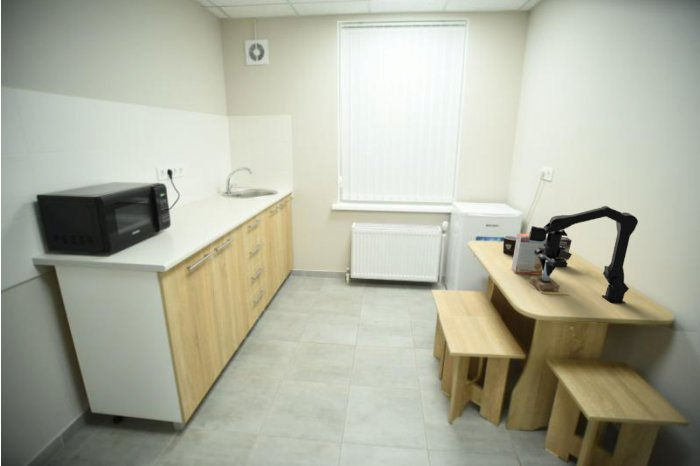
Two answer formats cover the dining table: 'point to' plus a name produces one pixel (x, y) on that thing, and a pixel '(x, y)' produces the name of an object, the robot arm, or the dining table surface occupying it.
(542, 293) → the lace
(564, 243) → the coffee box
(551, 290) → the brown square frame
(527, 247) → the cracker box
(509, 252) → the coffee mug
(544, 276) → the light blue cylinder
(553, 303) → the dining table surface
